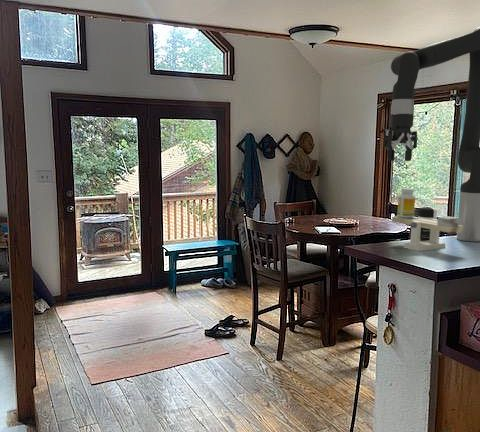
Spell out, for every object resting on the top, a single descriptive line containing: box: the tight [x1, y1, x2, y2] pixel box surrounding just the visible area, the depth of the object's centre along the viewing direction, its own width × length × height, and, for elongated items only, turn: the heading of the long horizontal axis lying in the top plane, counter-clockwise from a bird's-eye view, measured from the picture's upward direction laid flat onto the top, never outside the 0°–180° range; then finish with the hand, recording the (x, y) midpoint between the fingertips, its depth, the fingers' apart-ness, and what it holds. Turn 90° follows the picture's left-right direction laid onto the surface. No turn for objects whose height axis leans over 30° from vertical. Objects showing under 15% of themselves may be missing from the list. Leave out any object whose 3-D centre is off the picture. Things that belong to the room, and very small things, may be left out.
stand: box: [403, 219, 446, 252], centre depth 159 cm, size 13×6×9 cm, turn 121°
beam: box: [391, 215, 463, 234], centre depth 158 cm, size 7×22×4 cm, turn 31°
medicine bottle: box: [417, 206, 438, 241], centre depth 171 cm, size 7×7×12 cm
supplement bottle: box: [396, 187, 416, 218], centre depth 164 cm, size 5×5×10 cm
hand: (399, 160), depth 168 cm, fingers open, 8 cm apart
